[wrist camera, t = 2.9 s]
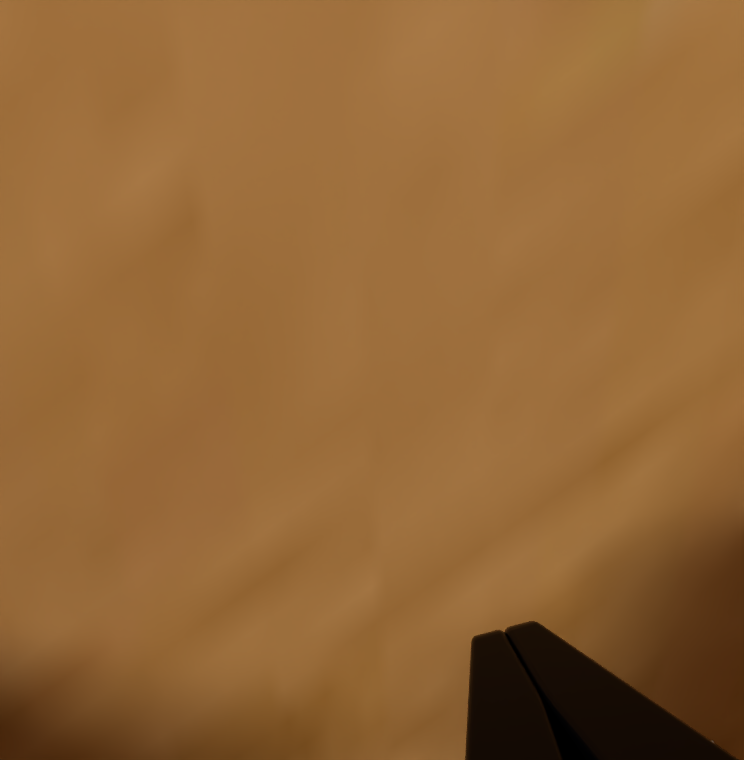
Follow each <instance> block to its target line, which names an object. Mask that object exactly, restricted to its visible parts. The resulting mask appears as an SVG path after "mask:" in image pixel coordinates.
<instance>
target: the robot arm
mask: <svg viewBox="0 0 744 760" xmlns="http://www.w3.org/2000/svg"><path fill="white" fill-rule="evenodd" d="M465 760H738V759H737V758H735V757H734V756H732V755H731V754H729V753H728V752H727V751H725V750H724V749H722V748H721V747H719V746H718V745H716V744H715V743H713V742H712V741H710V740H709V739H708V738H706V737H705V736H703V735H702V734H700V733H699V732H697V731H696V730H694V729H693V728H691V727H690V726H689V725H687V724H686V723H684V722H683V721H681V720H680V719H678V718H677V717H675V716H674V715H672V714H671V713H670V712H668V711H667V710H665V709H664V708H662V707H661V706H659V705H658V704H656V703H655V702H653V701H652V700H651V699H649V698H648V697H646V696H645V695H643V694H642V693H640V692H639V691H637V690H636V689H634V688H633V687H632V686H630V685H629V684H627V683H626V682H624V681H623V680H621V679H620V678H618V677H617V676H615V675H614V674H613V673H611V672H610V671H608V670H607V669H605V668H604V667H602V666H601V665H599V664H598V663H596V662H595V661H594V660H592V659H591V658H589V657H588V656H586V655H585V654H583V653H582V652H580V651H579V650H577V649H576V648H575V647H573V646H572V645H570V644H569V643H567V642H566V641H564V640H563V639H561V638H560V637H558V636H557V635H556V634H554V633H553V632H551V631H550V630H548V629H547V628H545V627H544V626H542V625H541V624H539V623H538V622H535V621H529V622H526V623H522V624H518V625H514V626H510V627H508V628H507V629H506V630H505V632H503V631H501V630H495V631H492V632H488V633H484V634H480V635H477V636H474V637H473V639H472V642H471V660H470V679H469V698H468V717H467V736H466V756H465Z"/></svg>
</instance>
